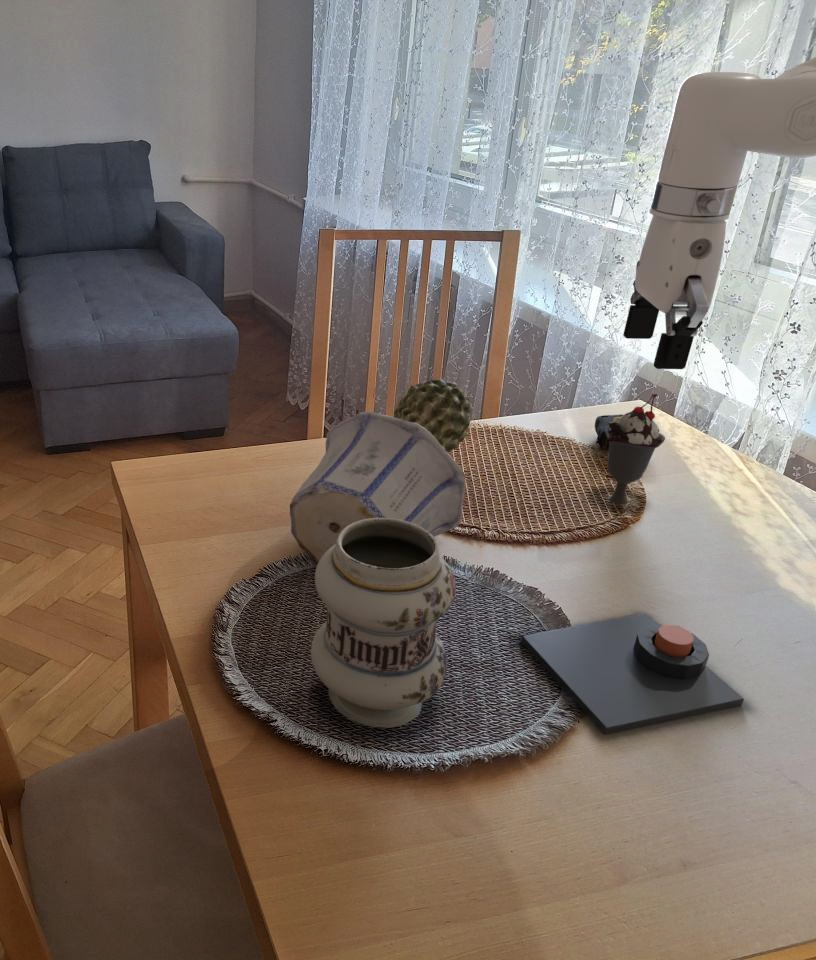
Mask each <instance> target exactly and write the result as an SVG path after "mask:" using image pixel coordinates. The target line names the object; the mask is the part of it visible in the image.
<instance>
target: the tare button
mask: <svg viewBox="0 0 816 960" xmlns="http://www.w3.org/2000/svg"><path fill="white" fill-rule="evenodd" d="M662 625H663V626H661V627H659V629H658V632H657V635H656V638H655V642H654V643H655V646H656V648H657V649H658V650H660V651H662V652H664V653H666V654H668V655H671V656H676V657H685V656H687V655H688V654H689V653H690V650H691V647H692V644H693V641H694V637H693V635H692V634H693V633H692V632H690V631H689V630H687V629H686V628H684V627H682V626H679V625H677V624H662ZM691 633H692V634H691Z"/></svg>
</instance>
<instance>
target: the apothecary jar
mask: <svg viewBox="0 0 816 960" xmlns="http://www.w3.org/2000/svg"><path fill="white" fill-rule="evenodd" d="M456 582H457V581H456V579H455V575H454V573H453V570H452V569H451V567H450V565H449V564H448V561H446V560H445V558H443V557H442V556H441V554H440V545H439V543H438V540H437V539H436V537H433V535H432V534H430V533H429V532H428V531H426V530H425V529H423V528H422V527H420V526H418V525H416V524H413V523H410V522H407V521H404V520H400V519H393V518H370V519H364V520H360V521H357V522H354V523H352V524H350V525H348V526H347V527H346V528H344V529H343V530H342V531H341V533H340V534H339V536H338V538H337V541H336V544H335V545H334V546H332V547H331V548H330V549H329V550H327V551H326V552H325V554H324V555H323V556H322V557H321V559H320V561H319V562H318V563H317V565H316V568H315V572H314V584H315V589H316V592H317V594H318V596H319V598H320V600H321V601H322V602H323V603H324V605H325V606H326V607H327V608H326V621H325V622H324V623H322V625H321V626H320V627H319V628H318V629H317V630H316V632H315V634H314V636H313V638H312V642H311V647H310V658H311V663H312V666H313V669H314V671H315V673H316V675H317V677H318V679H319V680H320V681H321V683H322V684H324V686H326V687H327V693H328V697H329V699H330V702H331V703H332V705H333V706H334V707H335V709H336V710H337V711H338V712H339V713H340V714H341V715H343V716H344V717H345V718H347V719H349V720H350V721H353V722H355V723H358V724H359V725H360V724H361V725H364V726H367V727H371V728H387V729H388V728H389V729H390V728H398V727H401V726H403V725H405V724H407V723H409V722H411V721H413V720H414V719H415V718H417V717H418V716H419V715H420V713H421V711H422V706H423V702H425V701H427V700H428V699H430V698H431V697H432V696H433V695H435V694H436V693H437V692H438V690H439V689H440V688H441V686H442V685H443V683H444V681H445V679H446V676H447V671H448V656H447V651H446V648H445V646H444V644H443V642H442V640H441V638H440V637H439V636H438V634H437V624H438V623H437V622H438V620H439V619H440V618H441V617H442V616H443V615H445V614H446V612H448V610H449V609H450V608H451V606H452V605H453V602H454V601H455V597H456V592H457V584H456Z"/></svg>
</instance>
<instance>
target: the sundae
mask: <svg viewBox="0 0 816 960" xmlns="http://www.w3.org/2000/svg"><path fill="white" fill-rule="evenodd" d="M657 397H658V394H656V393H652V394H651V397H650V398H649V400H648V401H647V402H646V403H645V404H643V405H642V406H635V407H634V408H633V410H631V411H629V412H626V413H623V414H622V415H623V416H622V417H621V418H620V419H619V421H618V422H609V426H607V427H606V428H605V434H606V436H607V438H608V439H609V449H608V455H607V472H608V473H609V475H610V476H611V478H612V479H614V480H615V481H616V486H615V490H614V492H613V493H612V494H611V495H610V496H608V500H609V502H611V503H613V504H616V505H627V504H628V502H629V500H628V499H627V497H626V490H627V487H628V484H631V483H634V482H636V481H638V480H640V479H641V478H642V477H643V475H644V473H645V472H646V470H647V467H648V465H649V463H650V461H651V459H652V457H653V454H654V452H655V450H656V449H657V448H660V446H662V444H664V442H665V440H666V437H665V435H663V434H662V433H660V429H659V426H658V424H657V423H656V422H655V420H654V419H655V417H656V414H655V413H654V412H653V406H654V401H655V398H657ZM651 400H652V401H651ZM650 402H651V405H650V410H646V411H645V410H644V407H646V406H647V405H648V404H649V403H650Z"/></svg>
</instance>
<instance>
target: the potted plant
mask: <svg viewBox="0 0 816 960" xmlns="http://www.w3.org/2000/svg"><path fill="white" fill-rule="evenodd" d="M472 408H473V405H472V402H471V401H470V399H469V398H468V396H467V394H466V392H465V391H464V389H463V388H460V387H458V386H457V383H456V382H455V381H450V380H447V381H445V380H444V379H443V378H436V379H428V380H425V381H422V382H420V383H417V384H415V385H414V384H410V387H409V389H408V390H407V393H406V395H404V396H403V397H401V399H400V401H399V402H398V405H397V407H396V409H395V410H394V411H393V416H390V415H386V414H381V413H377V412H374V411H361V412H359V413H357V414H356V415H353V416H351V417H349V418H347V419H344V420H342V421H341V422H339V423H338V424H335V425H334V426H332V428H330V430H329V431H328V432H327V433H326V439H325V444H324V445H325V453H324V455H323V457H322V459H321V461H320V462H319V463H318V465H317V466H316V467H315V469H314V470H313V471H312V473H311V474H309V476H308V478H307V479H306V480H305V481H304V482H303V484H301V486H300V487H299V489H298V491H297V492H296V493H295V495H294V496H293V497H292V499H291V502H290V504H289V517H290V533H291V535H292V536H293V538H294V540H295V541H296V543H297V544H298V546H299V548H300V549H302V550H303V551H304V552H305V553H306V554H307V555H308V556H309V557H310V558H311V559H312V560H313V561H314V562H315V563H316V564H318V562H319V561H320V559H321V557H322V556H323V555H324V554H325V552H326V551H327V550H329V549H330V548H331V547H332V546H334V545H335V544H336V541H337V538H338V536H339V534H340V533H341V531H342V530H343V529H344V528H346V527H347V526H348V525H350V524H352V523H354V522H357V521H360V520H364V519H370V518H393V519H400V520H404V521H407V522H410V523H413V524H416V525H418V526H420V527H422V528H423V529H425V530H426V531H428V532H429V533H430V534H432V535H433V537H434V538H436V537H437V536H439V535H442V534H444V533H447V532H448V531H451V530H453V529H455V528H457V527H458V526H459V525H460V524H461V522H462V519H463V506H464V503H463V502H464V499H465V494H466V493H465V492H466V491H465V490H466V474H465V472H464V470H462V468H461V467H460V465H459V464H458V463H457V462H456V461H455V460H454V458H453V457H452V456H451V455H450V452H451V451H453V450H455V449H458V448H459V446H460V444H461V443H462V442H463V441H464V440H465V438H466V437H467V435H468V429H469V427H470V425H471V422H472V419H471V414H470V413H471V411H472Z"/></svg>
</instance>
